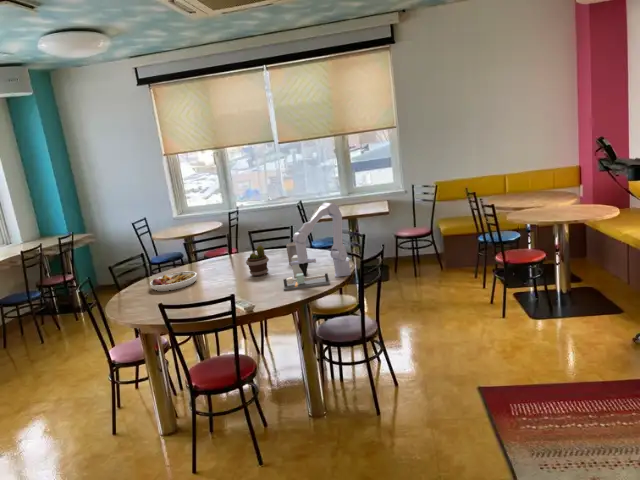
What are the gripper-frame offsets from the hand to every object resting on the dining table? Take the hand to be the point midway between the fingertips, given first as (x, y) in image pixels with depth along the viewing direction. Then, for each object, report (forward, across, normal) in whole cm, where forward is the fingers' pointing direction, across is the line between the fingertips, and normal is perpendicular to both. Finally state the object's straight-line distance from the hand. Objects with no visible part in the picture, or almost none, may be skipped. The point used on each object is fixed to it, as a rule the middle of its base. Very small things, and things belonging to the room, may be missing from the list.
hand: (305, 275), depth 295 cm
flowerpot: (+6, -32, +38) cm, 50 cm away
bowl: (+6, -90, +40) cm, 98 cm away
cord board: (+6, 0, 0) cm, 6 cm away
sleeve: (+3, -3, 0) cm, 4 cm away
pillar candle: (+6, -10, +55) cm, 56 cm away
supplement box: (+6, -4, +22) cm, 23 cm away
